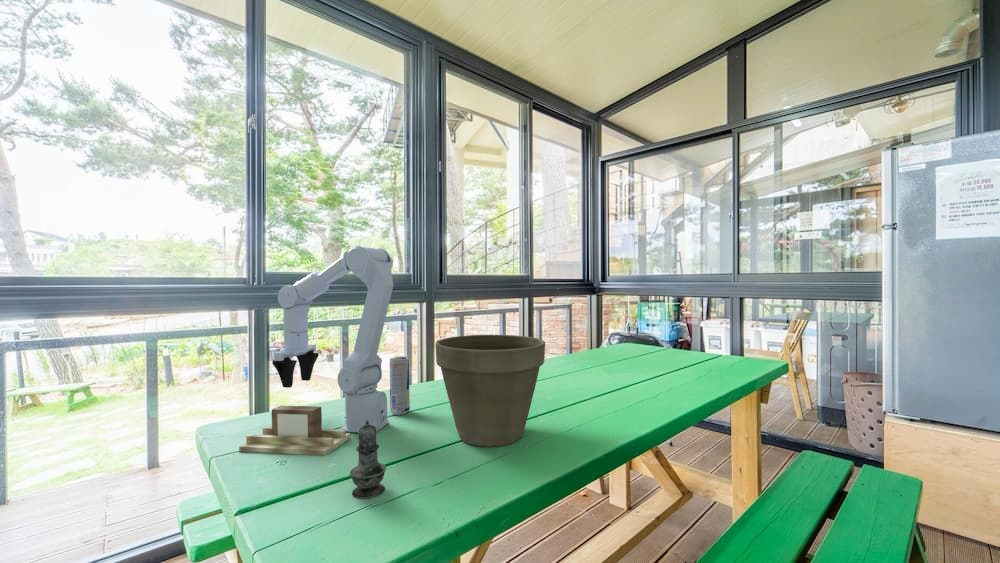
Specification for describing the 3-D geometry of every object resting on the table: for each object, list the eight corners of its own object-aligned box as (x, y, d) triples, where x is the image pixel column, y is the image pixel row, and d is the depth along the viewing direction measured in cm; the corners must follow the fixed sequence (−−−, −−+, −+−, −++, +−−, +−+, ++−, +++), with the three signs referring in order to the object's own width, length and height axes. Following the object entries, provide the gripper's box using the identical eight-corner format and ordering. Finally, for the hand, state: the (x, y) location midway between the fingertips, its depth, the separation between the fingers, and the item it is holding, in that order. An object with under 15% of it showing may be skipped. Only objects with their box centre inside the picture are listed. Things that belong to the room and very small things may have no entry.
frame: (321, 438, 94) (321, 406, 94) (313, 443, 91) (313, 410, 91) (281, 436, 96) (280, 405, 96) (272, 441, 93) (271, 409, 93)
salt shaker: (355, 484, 74) (353, 415, 74) (389, 482, 75) (388, 413, 75) (345, 501, 68) (344, 426, 68) (383, 498, 69) (381, 424, 69)
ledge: (350, 437, 97) (350, 426, 97) (325, 455, 87) (325, 443, 87) (271, 434, 100) (271, 423, 100) (239, 451, 90) (239, 439, 90)
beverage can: (412, 410, 117) (411, 356, 117) (406, 416, 112) (405, 359, 112) (394, 410, 118) (393, 356, 118) (387, 415, 113) (386, 359, 113)
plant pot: (569, 433, 97) (567, 338, 97) (494, 469, 79) (492, 352, 79) (490, 412, 114) (489, 331, 114) (414, 437, 96) (412, 342, 96)
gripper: (299, 328, 119) (300, 377, 119) (262, 335, 105) (263, 390, 105) (322, 328, 118) (323, 377, 118) (288, 335, 104) (289, 390, 103)
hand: (297, 383), depth 111 cm, fingers open, 7 cm apart
